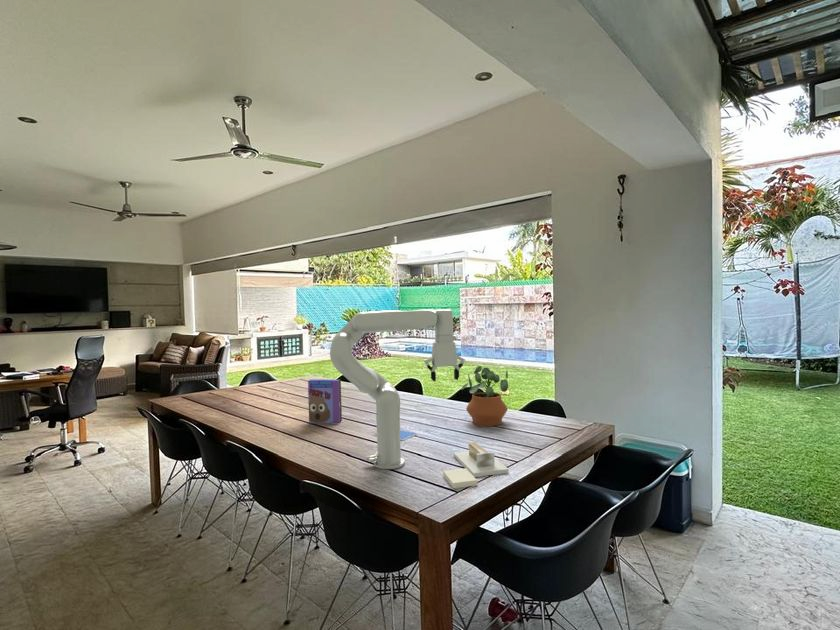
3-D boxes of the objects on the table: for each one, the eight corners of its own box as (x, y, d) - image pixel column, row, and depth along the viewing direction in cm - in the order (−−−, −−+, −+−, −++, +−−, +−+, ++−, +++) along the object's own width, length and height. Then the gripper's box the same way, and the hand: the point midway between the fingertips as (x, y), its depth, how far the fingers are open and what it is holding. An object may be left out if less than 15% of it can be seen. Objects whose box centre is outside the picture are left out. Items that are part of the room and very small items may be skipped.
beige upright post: (477, 467, 172) (477, 454, 172) (464, 455, 187) (464, 443, 187) (494, 465, 174) (494, 452, 174) (480, 453, 188) (479, 441, 188)
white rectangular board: (473, 477, 167) (473, 473, 167) (453, 456, 190) (453, 452, 190) (508, 472, 170) (508, 469, 170) (484, 452, 193) (484, 449, 193)
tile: (443, 476, 169) (453, 489, 157) (443, 470, 169) (453, 483, 157) (465, 474, 171) (477, 486, 159) (465, 468, 171) (477, 480, 159)
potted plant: (516, 421, 244) (515, 366, 243) (489, 433, 222) (487, 373, 221) (480, 415, 258) (479, 363, 258) (452, 426, 237) (450, 369, 236)
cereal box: (309, 423, 249) (307, 380, 249) (312, 421, 254) (310, 379, 253) (339, 423, 247) (338, 380, 247) (341, 421, 252) (340, 379, 251)
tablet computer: (372, 436, 224) (372, 433, 224) (388, 430, 234) (388, 427, 234) (402, 442, 213) (402, 439, 213) (418, 435, 223) (418, 432, 223)
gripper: (461, 337, 191) (461, 377, 191) (421, 339, 186) (422, 380, 187) (467, 338, 183) (467, 380, 184) (426, 340, 179) (427, 383, 180)
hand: (445, 380), depth 185 cm, fingers open, 9 cm apart
